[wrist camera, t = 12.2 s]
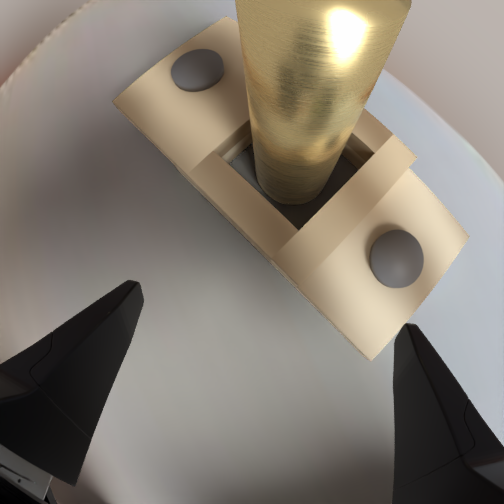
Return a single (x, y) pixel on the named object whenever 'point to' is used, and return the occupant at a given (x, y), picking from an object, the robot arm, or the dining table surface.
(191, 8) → the dining table surface
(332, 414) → the dining table surface
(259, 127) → the brass pin
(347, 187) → the wooden slotted base
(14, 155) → the dining table surface
